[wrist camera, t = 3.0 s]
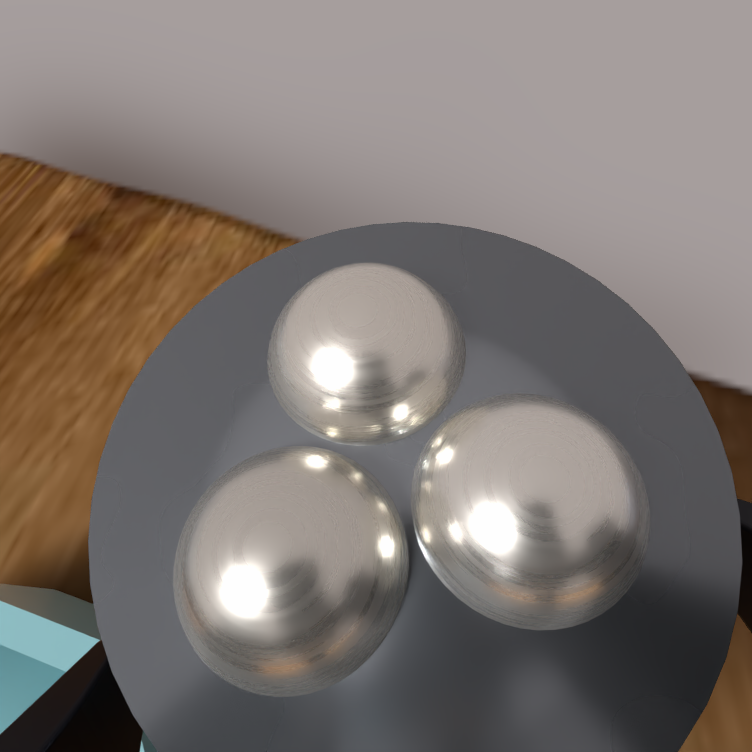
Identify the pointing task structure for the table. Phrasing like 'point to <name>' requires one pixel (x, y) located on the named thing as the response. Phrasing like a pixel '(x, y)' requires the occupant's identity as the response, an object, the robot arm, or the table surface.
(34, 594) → the bowl
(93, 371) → the table surface
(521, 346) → the steel cylinder with balls
